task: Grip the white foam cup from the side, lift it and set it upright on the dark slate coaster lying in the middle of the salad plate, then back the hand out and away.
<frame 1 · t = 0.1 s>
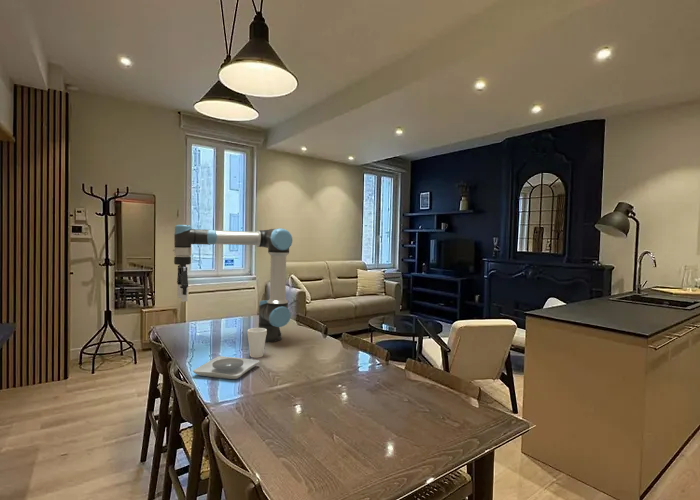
hand: (182, 299, 188), 28 cm above the table, tool pointing down, fingers open, 13 cm apart
salad plate: (227, 372, 168), on the table, touching slate coaster
foam cup: (256, 356, 192), on the table
slate coaster: (228, 364, 168), point 3 cm above the table, touching salad plate
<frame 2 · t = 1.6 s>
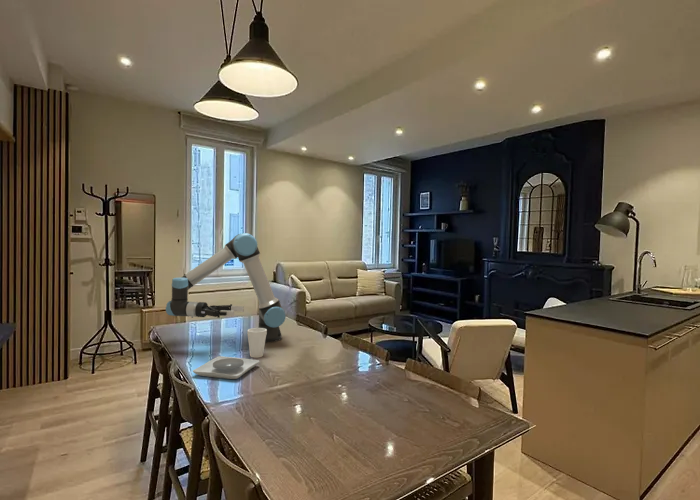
hand: (238, 311, 192), 22 cm above the table, tool horizontal, fingers open, 13 cm apart
nothing on the table moved.
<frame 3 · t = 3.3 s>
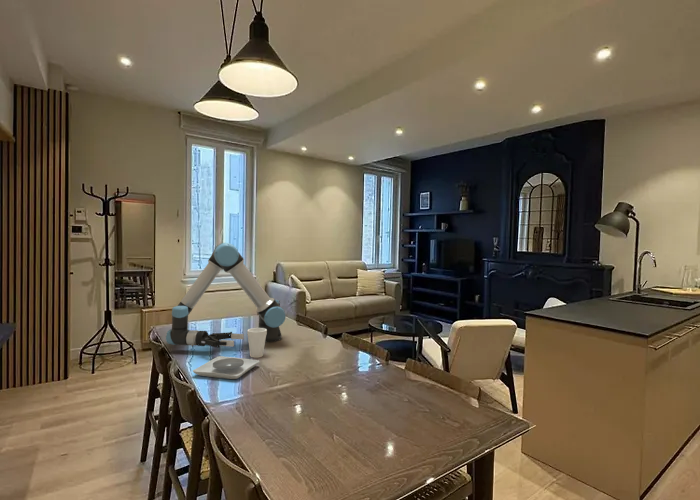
hand: (238, 340, 192), 7 cm above the table, tool horizontal, fingers open, 13 cm apart
nothing on the table moved.
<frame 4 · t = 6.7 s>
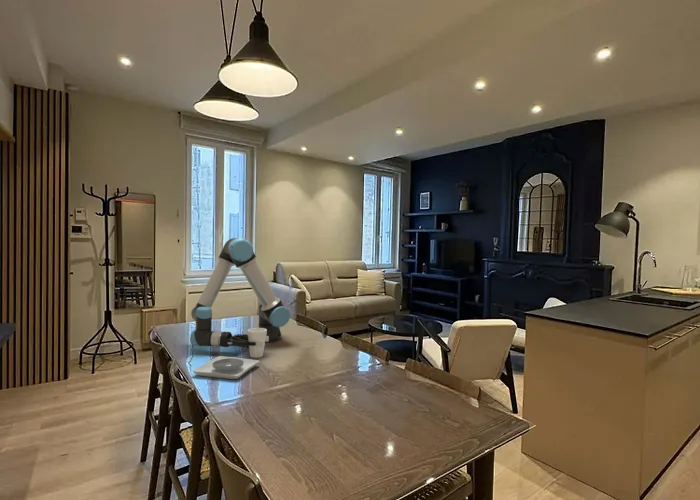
hand: (265, 341, 191), 8 cm above the table, tool horizontal, fingers closed on foam cup, 9 cm apart
foam cup: (256, 356, 192), on the table, touching gripper
everything else where it was.
when the fingers open (12 cm above the table, at t = 11.9 s): foam cup drops 1 cm, resting on slate coaster.
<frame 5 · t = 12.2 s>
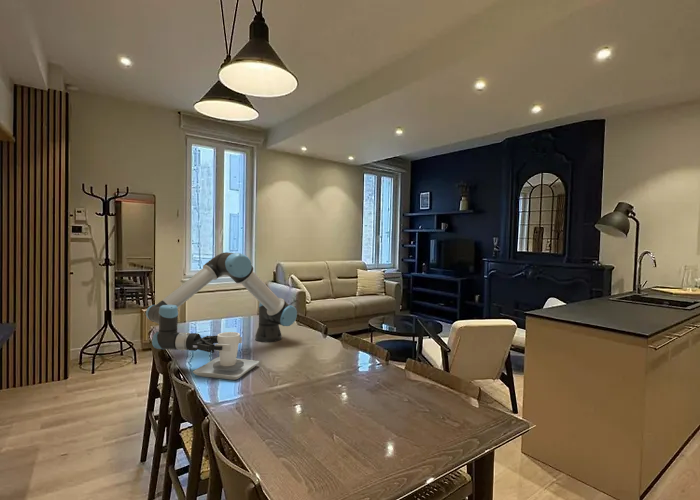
hand: (236, 343, 168), 12 cm above the table, tool horizontal, fingers open, 12 cm apart
foam cup: (228, 364, 168), point 3 cm above the table, touching slate coaster
slate coaster: (228, 365, 168), point 3 cm above the table, touching foam cup, salad plate
everything else where it was.
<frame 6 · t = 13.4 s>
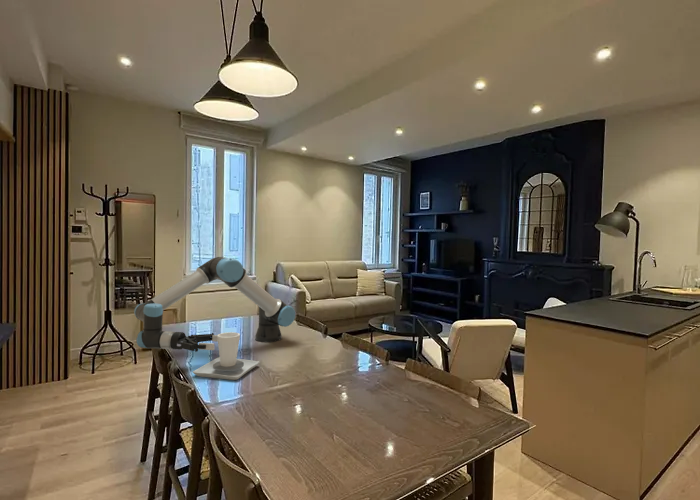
hand: (220, 342, 168), 13 cm above the table, tool horizontal, fingers open, 13 cm apart
nothing on the table moved.
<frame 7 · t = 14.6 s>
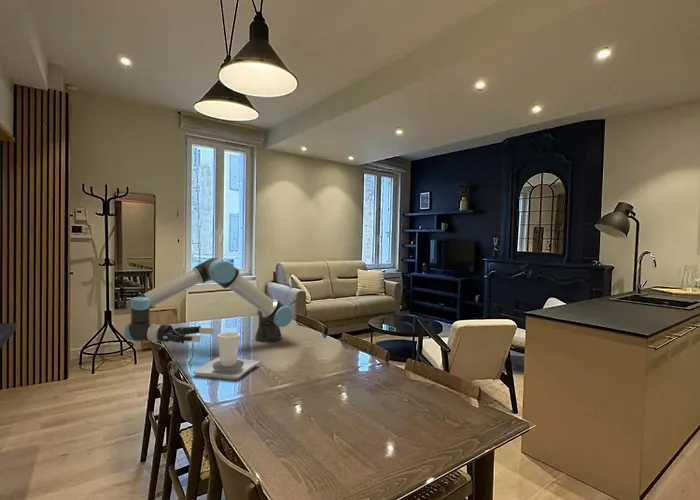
hand: (206, 334, 171), 15 cm above the table, tool horizontal, fingers open, 13 cm apart
nothing on the table moved.
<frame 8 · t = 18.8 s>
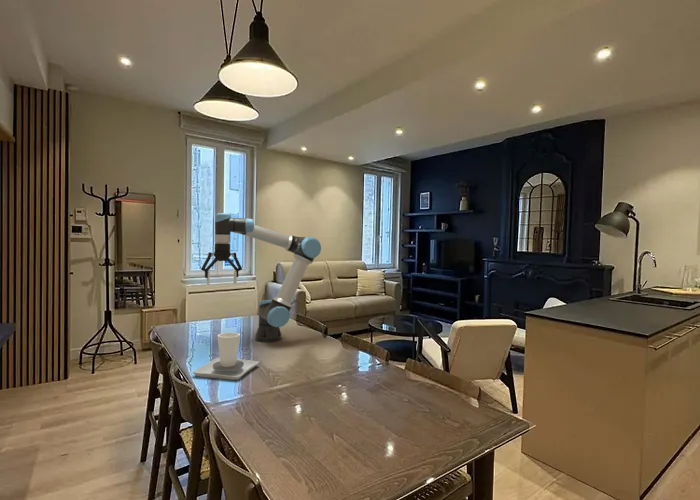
hand: (221, 284, 199), 35 cm above the table, tool pointing down, fingers open, 13 cm apart
nothing on the table moved.
at the end: foam cup 0.1 cm from the slate coaster (horizontally); foam cup tilted 0°; foam cup point 2.9 cm above the table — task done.
